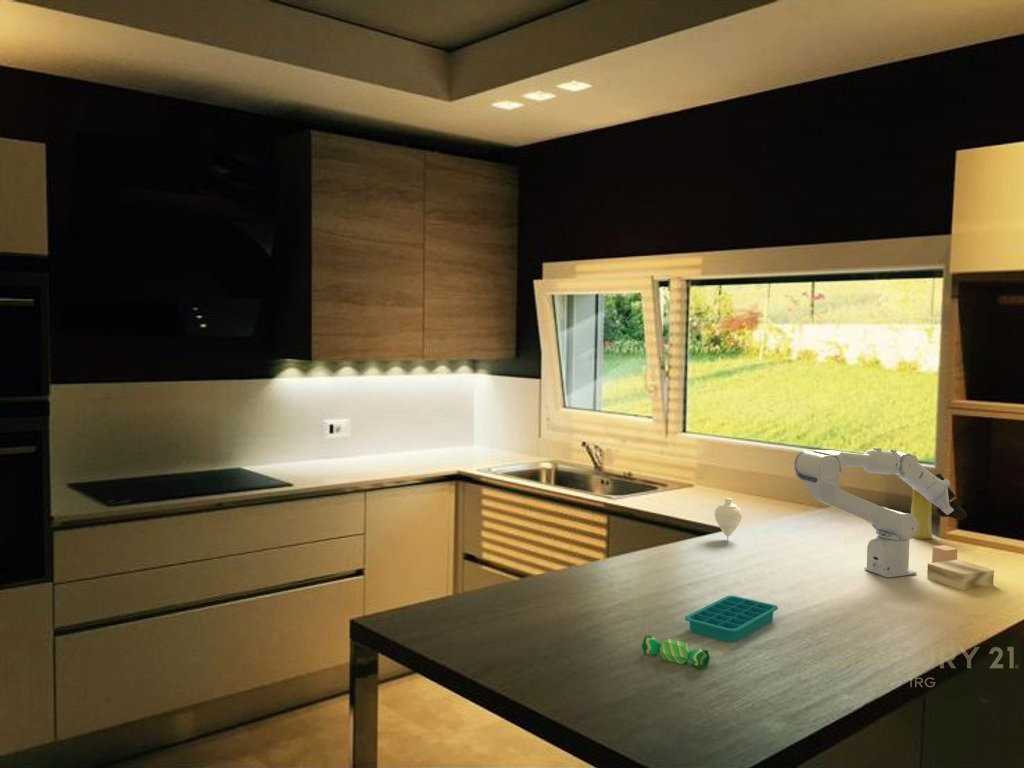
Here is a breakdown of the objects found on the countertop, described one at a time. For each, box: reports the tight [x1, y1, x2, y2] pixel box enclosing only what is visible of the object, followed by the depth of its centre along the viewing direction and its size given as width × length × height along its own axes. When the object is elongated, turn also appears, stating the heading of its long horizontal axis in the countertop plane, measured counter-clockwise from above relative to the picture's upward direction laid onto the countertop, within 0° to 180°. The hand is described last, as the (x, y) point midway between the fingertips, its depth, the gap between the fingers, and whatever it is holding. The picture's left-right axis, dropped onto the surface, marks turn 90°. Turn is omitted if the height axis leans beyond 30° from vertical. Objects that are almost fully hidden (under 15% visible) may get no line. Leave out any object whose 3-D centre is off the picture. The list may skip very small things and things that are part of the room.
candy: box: [641, 634, 711, 670], centre depth 158 cm, size 12×3×4 cm
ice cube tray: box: [684, 595, 779, 643], centre depth 176 cm, size 12×20×3 cm, turn 138°
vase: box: [910, 487, 933, 540], centre depth 249 cm, size 6×6×14 cm
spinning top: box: [714, 497, 743, 540], centre depth 246 cm, size 8×8×12 cm
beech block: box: [926, 559, 995, 591], centre depth 206 cm, size 10×10×4 cm
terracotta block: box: [931, 544, 958, 563], centre depth 219 cm, size 4×4×5 cm
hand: (957, 507), depth 220 cm, fingers open, 7 cm apart
